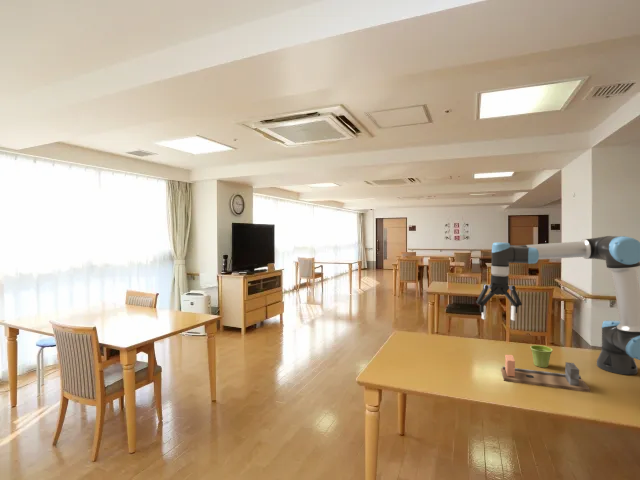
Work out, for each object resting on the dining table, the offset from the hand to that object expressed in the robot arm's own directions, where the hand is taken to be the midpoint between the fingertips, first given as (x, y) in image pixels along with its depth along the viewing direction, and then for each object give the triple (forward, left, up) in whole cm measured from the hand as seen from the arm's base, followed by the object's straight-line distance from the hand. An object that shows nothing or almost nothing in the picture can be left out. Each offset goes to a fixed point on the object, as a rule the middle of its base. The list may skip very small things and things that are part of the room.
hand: (498, 319), depth 172 cm
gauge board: (-18, +5, -25) cm, 31 cm away
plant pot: (-21, -15, -25) cm, 36 cm away
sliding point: (-5, +5, -23) cm, 24 cm away
